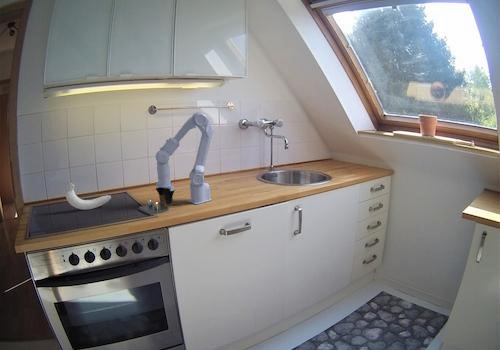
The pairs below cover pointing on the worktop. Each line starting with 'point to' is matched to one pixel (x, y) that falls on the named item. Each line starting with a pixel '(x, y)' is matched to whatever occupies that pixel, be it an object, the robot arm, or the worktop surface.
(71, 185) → the banana
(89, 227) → the worktop surface
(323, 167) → the worktop surface
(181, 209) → the worktop surface
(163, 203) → the hollow block
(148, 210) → the pin plate
